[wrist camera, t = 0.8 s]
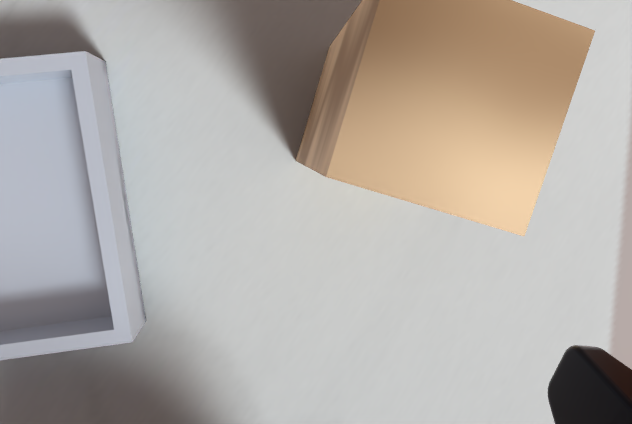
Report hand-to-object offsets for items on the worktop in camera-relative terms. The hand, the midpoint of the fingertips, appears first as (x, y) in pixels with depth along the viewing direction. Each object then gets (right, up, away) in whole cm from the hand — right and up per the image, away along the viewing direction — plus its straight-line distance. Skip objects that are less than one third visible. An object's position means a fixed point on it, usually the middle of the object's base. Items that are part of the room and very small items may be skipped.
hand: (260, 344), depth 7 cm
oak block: (+3, +6, +16) cm, 17 cm away
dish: (-13, +2, +14) cm, 19 cm away
